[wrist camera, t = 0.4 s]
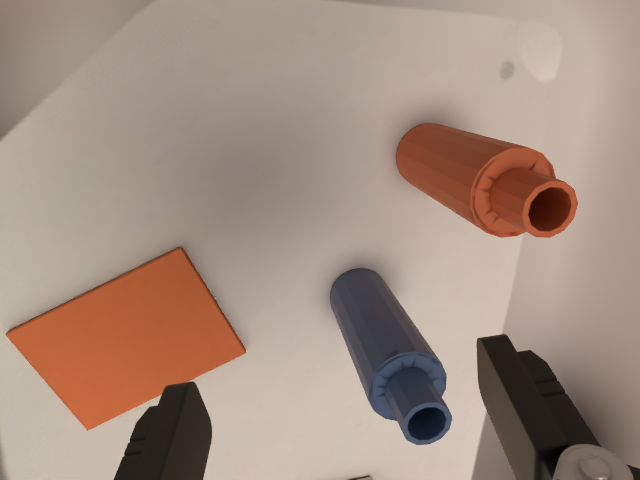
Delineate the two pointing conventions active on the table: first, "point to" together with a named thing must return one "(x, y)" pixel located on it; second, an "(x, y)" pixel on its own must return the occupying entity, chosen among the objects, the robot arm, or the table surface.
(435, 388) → the blue bottle
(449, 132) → the terracotta bottle
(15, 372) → the table surface
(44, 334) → the terracotta mat
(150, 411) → the robot arm
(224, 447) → the table surface
